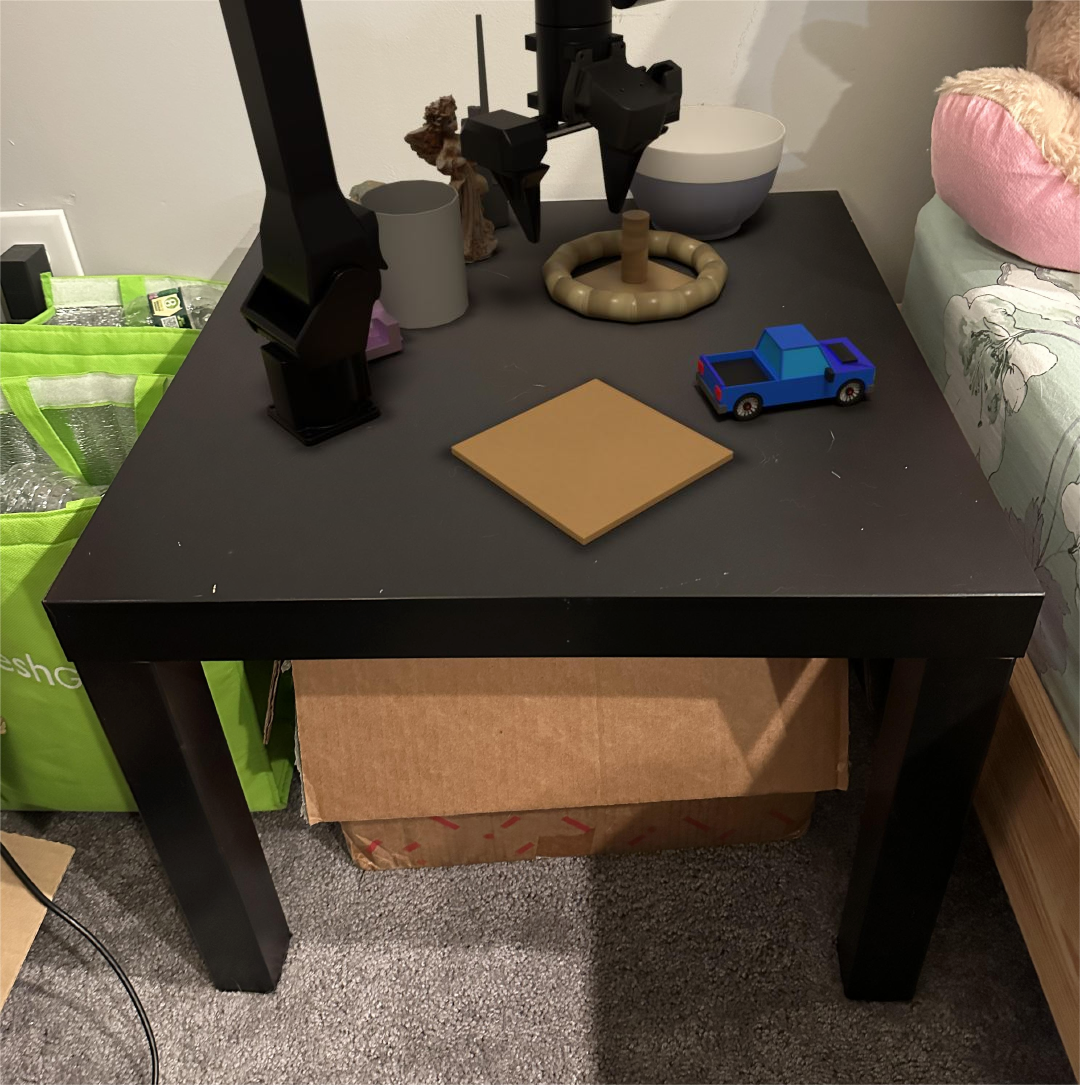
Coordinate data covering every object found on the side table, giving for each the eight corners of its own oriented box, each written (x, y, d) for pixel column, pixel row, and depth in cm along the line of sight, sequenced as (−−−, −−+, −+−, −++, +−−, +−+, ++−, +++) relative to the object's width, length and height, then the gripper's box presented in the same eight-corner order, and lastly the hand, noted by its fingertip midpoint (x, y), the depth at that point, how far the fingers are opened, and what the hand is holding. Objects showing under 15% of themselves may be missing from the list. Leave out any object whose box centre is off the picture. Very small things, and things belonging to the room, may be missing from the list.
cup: (453, 331, 82) (441, 217, 76) (363, 325, 84) (344, 213, 77) (477, 289, 89) (468, 181, 82) (393, 285, 90) (378, 178, 84)
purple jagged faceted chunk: (415, 350, 80) (407, 283, 76) (341, 374, 77) (328, 306, 73) (374, 316, 85) (363, 251, 81) (302, 337, 82) (288, 272, 79)
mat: (583, 546, 59) (583, 538, 59) (451, 453, 68) (450, 446, 67) (733, 459, 66) (733, 451, 66) (595, 384, 75) (595, 378, 74)
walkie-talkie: (512, 226, 101) (501, 13, 88) (484, 232, 99) (468, 18, 87) (493, 212, 104) (479, 5, 91) (465, 218, 103) (447, 9, 90)
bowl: (738, 266, 91) (748, 163, 85) (592, 237, 97) (592, 139, 91) (796, 211, 101) (809, 116, 95) (660, 188, 108) (665, 98, 102)
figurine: (461, 273, 92) (446, 108, 82) (417, 259, 95) (397, 98, 85) (510, 248, 96) (501, 88, 86) (467, 235, 99) (453, 79, 89)
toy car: (875, 408, 70) (889, 347, 67) (720, 430, 69) (727, 369, 66) (836, 365, 76) (847, 307, 72) (691, 385, 74) (696, 326, 71)
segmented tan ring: (632, 344, 79) (633, 318, 78) (508, 284, 89) (507, 259, 88) (762, 285, 87) (765, 260, 86) (634, 235, 97) (635, 212, 96)
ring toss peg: (633, 312, 84) (635, 239, 80) (573, 284, 89) (572, 214, 85) (695, 284, 88) (700, 214, 84) (634, 260, 93) (636, 191, 89)
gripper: (548, 60, 61) (554, 289, 71) (741, 13, 70) (722, 223, 80) (446, 35, 68) (465, 247, 78) (634, -5, 77) (629, 190, 87)
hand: (575, 227), depth 80 cm, fingers open, 9 cm apart
